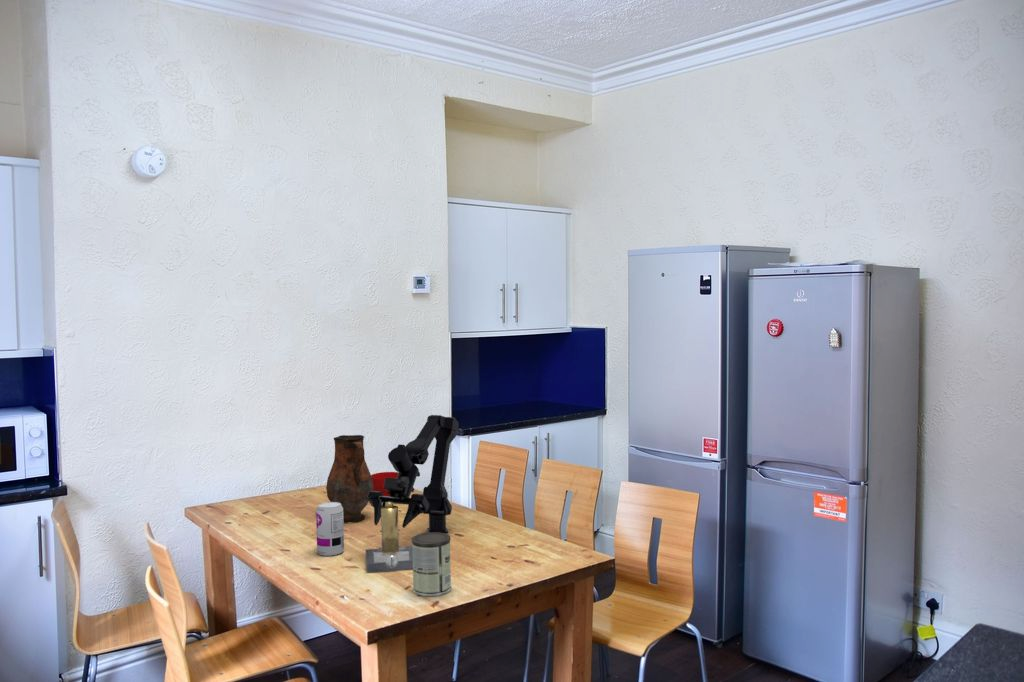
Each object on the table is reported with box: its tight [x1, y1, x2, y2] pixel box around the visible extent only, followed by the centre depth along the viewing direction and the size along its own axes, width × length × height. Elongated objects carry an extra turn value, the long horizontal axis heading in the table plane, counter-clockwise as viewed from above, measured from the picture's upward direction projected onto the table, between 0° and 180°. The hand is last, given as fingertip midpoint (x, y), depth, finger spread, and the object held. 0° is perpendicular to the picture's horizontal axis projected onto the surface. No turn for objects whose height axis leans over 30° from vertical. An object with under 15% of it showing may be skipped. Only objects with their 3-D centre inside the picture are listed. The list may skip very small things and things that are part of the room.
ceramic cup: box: [371, 471, 399, 497], centre depth 308 cm, size 13×17×10 cm
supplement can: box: [315, 501, 345, 557], centre depth 242 cm, size 8×8×15 cm
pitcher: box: [325, 434, 373, 523], centre depth 279 cm, size 17×21×30 cm
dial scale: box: [365, 545, 413, 573], centre depth 231 cm, size 14×14×4 cm
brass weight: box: [380, 501, 400, 553], centre depth 232 cm, size 5×5×15 cm
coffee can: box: [411, 532, 452, 597], centre depth 208 cm, size 10×10×14 cm
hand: (389, 525), depth 231 cm, fingers open, 9 cm apart
